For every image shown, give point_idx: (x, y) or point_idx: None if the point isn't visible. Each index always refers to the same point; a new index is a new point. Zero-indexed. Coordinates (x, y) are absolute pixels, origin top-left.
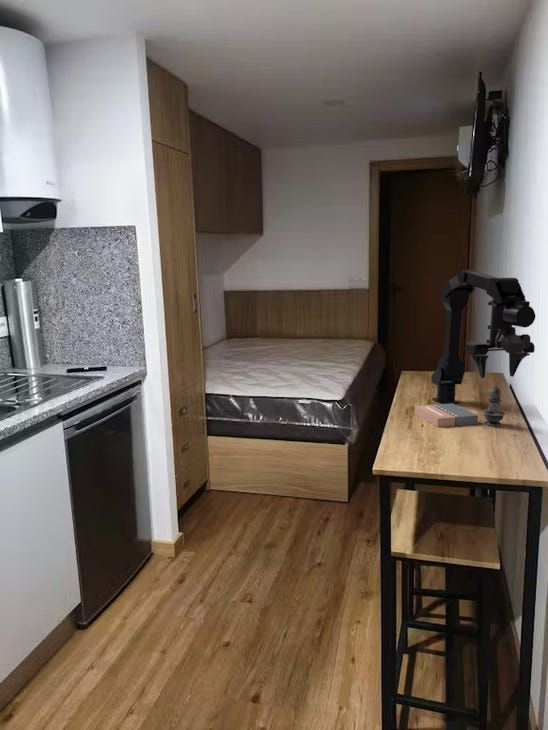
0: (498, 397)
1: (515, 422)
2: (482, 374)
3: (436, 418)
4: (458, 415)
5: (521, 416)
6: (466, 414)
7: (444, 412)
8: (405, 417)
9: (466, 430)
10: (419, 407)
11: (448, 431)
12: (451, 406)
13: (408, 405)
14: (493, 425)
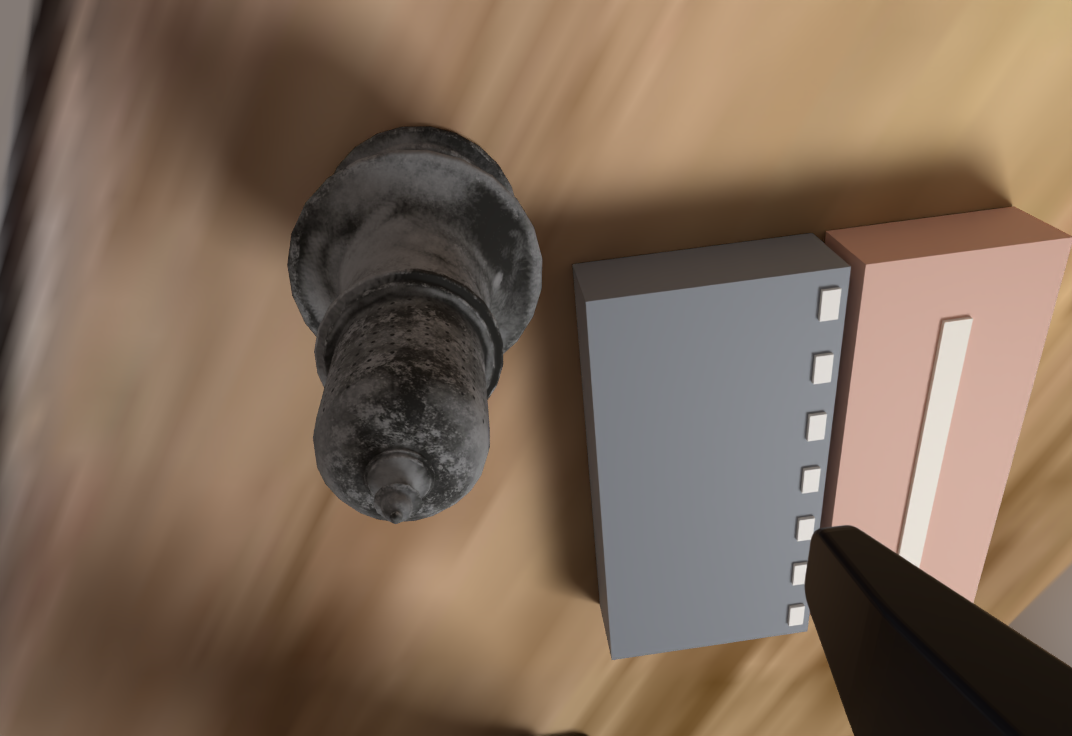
0: (388, 317)
1: (144, 266)
2: (937, 585)
3: (1060, 261)
4: (793, 320)
5: (10, 443)
6: (688, 346)
7: (861, 424)
8: (1066, 480)
9: (815, 53)
10: (966, 570)
11: (1016, 45)
12: (675, 584)
13: (838, 720)
14: (456, 151)
